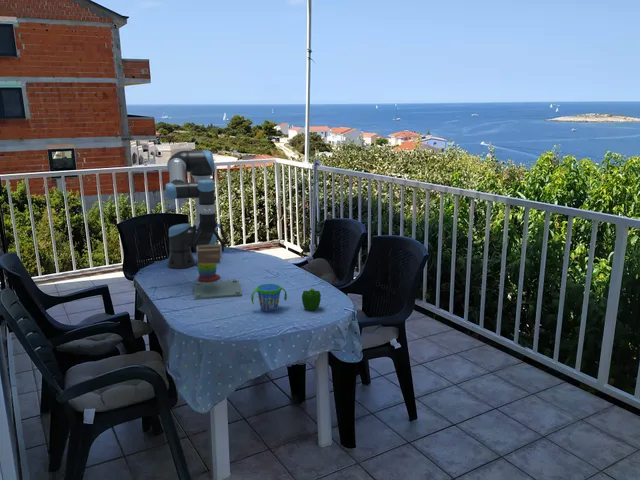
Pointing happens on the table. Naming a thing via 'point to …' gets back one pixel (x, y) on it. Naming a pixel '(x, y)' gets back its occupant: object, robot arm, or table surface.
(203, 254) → the walnut brick
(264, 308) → the snack cup
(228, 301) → the table surface
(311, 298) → the bell pepper
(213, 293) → the base plate
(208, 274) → the stacking bear
